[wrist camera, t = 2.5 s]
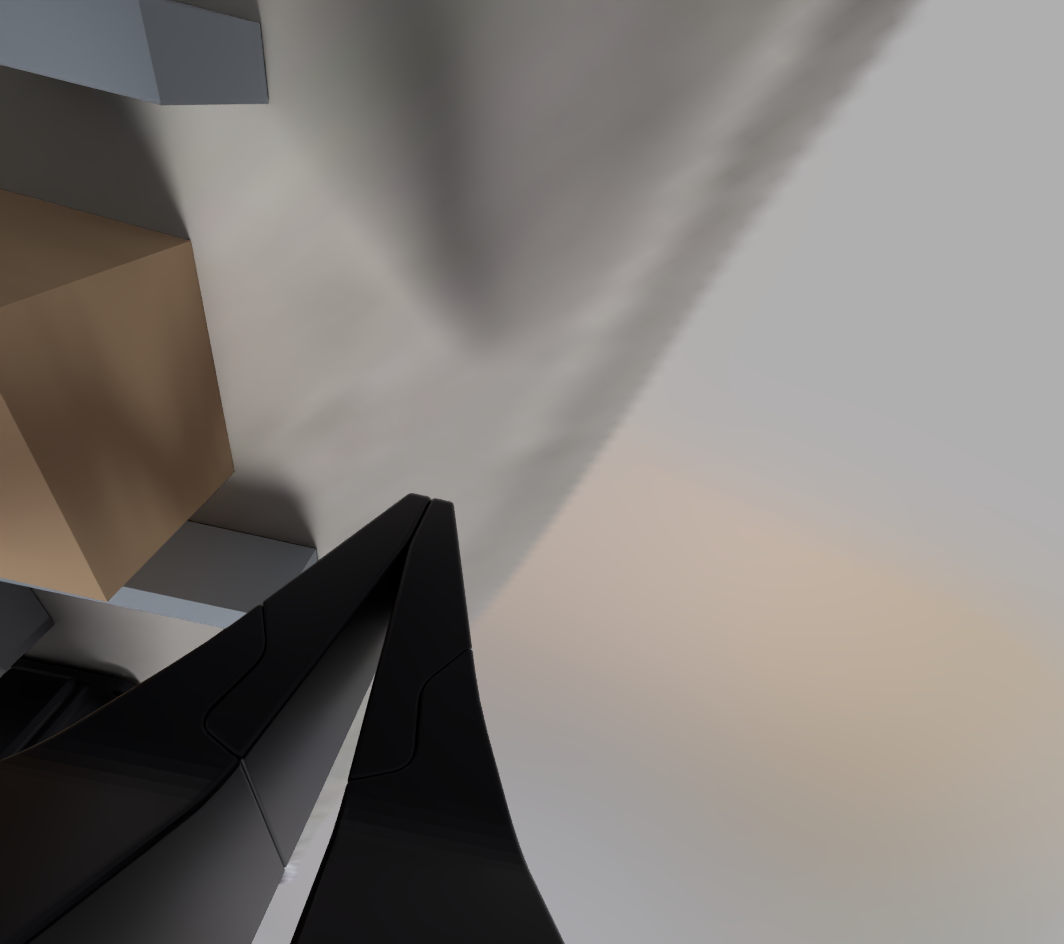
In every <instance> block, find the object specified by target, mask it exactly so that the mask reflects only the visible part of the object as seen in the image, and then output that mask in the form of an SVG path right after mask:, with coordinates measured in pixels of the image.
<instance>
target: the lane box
mask: <svg viewBox="0 0 1064 944" xmlns="http://www.w3.org/2000/svg"><path fill="white" fill-rule="evenodd" d="M0 65H3V66H7V67H11V68H15V69H19V70H23V71H27V72H31V73H35V74H39V75H43V76H47V77H51V78H55V79H59V80H63V81H67V82H71V83H75V84H79V85H83V86H87V87H91V88H95V89H99V90H103V91H107V92H111V93H115V94H119V95H123V96H127V97H131V98H135V99H139V100H143V101H147V102H151V103H155V104H159V105H206V104H268V95H267V86H266V77H265V67H264V58H263V49H262V39H261V30H260V23H257V22H253V21H249V20H245V19H241V18H238V17H234V16H230V15H226V14H222V13H218V12H215V11H211V10H207V9H203V8H199V7H195V6H191V5H188V4H184V3H180V2H176V1H172V0H0ZM316 562H317V552H316V549H314V548H309V547H304V546H300V545H295V544H291V543H286V542H282V541H277V540H272V539H268V538H263V537H259V536H254V535H250V534H245V533H241V532H236V531H231V530H227V529H222V528H218V527H213V526H209V525H204V524H199V523H195V522H190V521H186V522H185V523H184V524H183V525H182V526H181V527H180V528H179V529H178V530H177V531H176V532H175V533H174V534H173V535H172V536H171V537H170V538H169V539H168V540H167V541H166V543H165V544H164V545H163V546H162V547H161V548H160V549H159V550H158V551H157V552H156V553H155V554H154V555H153V556H152V557H151V558H150V559H149V560H148V561H147V562H146V563H145V564H144V565H143V566H142V567H141V568H140V569H139V570H138V571H137V572H136V573H135V574H134V575H133V576H132V577H131V578H130V579H129V580H128V581H127V582H126V583H125V585H124V586H123V587H122V588H121V589H120V590H119V591H118V592H117V593H116V594H115V595H114V596H113V597H112V598H111V599H110V600H109V601H108V602H105V601H101V600H97V599H92V598H88V597H84V596H79V595H75V594H70V593H66V592H62V591H57V590H53V589H49V588H44V587H40V586H35V585H31V584H27V583H22V582H18V581H14V580H9V579H5V578H0V670H4V671H7V670H8V669H9V668H10V667H11V666H12V665H13V664H14V663H15V662H16V661H17V660H18V659H19V658H20V657H21V656H22V655H23V654H24V653H25V652H26V651H27V650H28V649H29V648H30V647H31V646H32V645H34V644H35V643H36V642H37V641H38V640H39V639H40V638H41V637H42V636H43V635H44V634H45V633H46V632H47V631H48V630H49V629H50V628H51V627H52V626H53V625H54V622H53V621H52V619H51V618H50V617H49V615H48V614H47V612H46V611H45V609H44V608H43V606H42V605H41V604H40V602H39V601H38V599H37V598H36V596H35V595H34V594H33V592H32V591H31V589H30V588H29V587H31V588H36V589H40V590H45V591H50V592H55V593H59V594H64V595H69V596H74V597H78V598H83V599H88V600H93V601H97V602H102V603H107V604H111V605H116V606H121V607H126V608H130V609H135V610H140V611H145V612H149V613H154V614H159V615H164V616H168V617H173V618H178V619H182V620H187V621H192V622H197V623H201V624H206V625H211V626H216V627H220V628H227V627H228V626H230V625H231V624H233V623H234V622H235V621H237V620H238V619H240V618H241V617H242V616H244V615H245V614H246V613H248V612H249V611H251V610H252V609H253V608H255V607H256V606H257V605H262V606H263V601H264V600H266V599H267V598H268V597H270V596H271V595H272V594H274V593H275V592H277V591H278V590H279V589H281V588H282V587H283V586H285V585H286V584H287V583H289V582H290V581H291V580H293V579H294V578H295V577H297V576H298V575H300V574H301V573H302V572H304V571H305V570H306V569H308V568H309V567H310V566H312V565H313V564H314V563H316Z"/></svg>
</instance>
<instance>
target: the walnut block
mask: <svg viewBox="0 0 1064 944" xmlns="http://www.w3.org/2000/svg"><path fill="white" fill-rule="evenodd" d="M234 472H235V471H234V466H233V461H232V456H231V450H230V445H229V440H228V434H227V429H226V424H225V419H224V413H223V408H222V403H221V397H220V392H219V387H218V382H217V376H216V371H215V366H214V360H213V355H212V350H211V345H210V339H209V334H208V329H207V323H206V318H205V313H204V308H203V302H202V297H201V292H200V286H199V281H198V276H197V271H196V265H195V260H194V255H193V250H192V244H191V241H190V240H186V239H183V238H179V237H175V236H171V235H168V234H164V233H160V232H157V231H153V230H149V229H146V228H142V227H138V226H135V225H131V224H127V223H124V222H120V221H116V220H113V219H109V218H105V217H101V216H98V215H94V214H90V213H87V212H83V211H79V210H76V209H72V208H68V207H65V206H61V205H57V204H54V203H50V202H46V201H42V200H39V199H35V198H31V197H28V196H24V195H20V194H17V193H13V192H9V191H6V190H2V189H0V578H5V579H9V580H14V581H18V582H22V583H27V584H31V585H35V586H40V587H44V588H49V589H53V590H57V591H62V592H66V593H70V594H75V595H79V596H84V597H88V598H92V599H97V600H101V601H105V602H108V601H109V600H110V599H111V598H112V597H113V596H114V595H115V594H116V593H117V592H118V591H119V590H120V589H121V588H122V587H123V586H124V585H125V583H126V582H127V581H128V580H129V579H130V578H131V577H132V576H133V575H134V574H135V573H136V572H137V571H138V570H139V569H140V568H141V567H142V566H143V565H144V564H145V563H146V562H147V561H148V560H149V559H150V558H151V557H152V556H153V555H154V554H155V553H156V552H157V551H158V550H159V549H160V548H161V547H162V546H163V545H164V544H165V543H166V541H167V540H168V539H169V538H170V537H171V536H172V535H173V534H174V533H175V532H176V531H177V530H178V529H179V528H180V527H181V526H182V525H183V524H184V523H185V522H186V521H187V520H188V519H189V518H190V517H191V516H192V515H193V514H194V513H195V512H196V511H197V510H198V509H199V508H200V507H201V506H202V505H203V504H204V503H205V502H206V501H207V500H208V498H209V497H210V496H211V495H212V494H213V493H214V492H215V491H216V490H217V489H218V488H219V487H220V486H221V485H222V484H223V483H224V482H225V481H226V480H227V479H228V478H229V477H230V476H231V475H232V474H233V473H234Z"/></svg>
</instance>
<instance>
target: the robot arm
mask: <svg viewBox="0 0 1064 944" xmlns="http://www.w3.org/2000/svg"><path fill="white" fill-rule="evenodd" d="M471 648H472V644H471V637H470V629H469V621H468V613H467V605H466V597H465V589H464V582H463V574H462V566H461V558H460V550H459V542H458V534H457V527H456V519H455V511H454V505H453V503H452V502H450V501H445V500H441V499H436V498H434V499H432V500H431V499H430V498H429V497H428V496H423V495H419V494H414V493H410V494H408V495H406V496H405V497H404V498H402V499H401V500H400V501H398V502H397V503H396V504H394V505H393V506H392V507H390V508H389V509H387V510H386V511H385V512H383V513H382V514H381V515H379V516H378V517H377V518H375V519H374V520H373V521H371V522H370V523H369V524H367V525H366V526H364V527H363V528H362V529H360V530H359V531H358V532H356V533H355V534H354V535H352V536H351V537H350V538H348V539H347V540H346V541H344V542H343V543H341V544H340V545H339V546H337V547H336V548H335V549H333V550H332V551H331V552H329V553H328V554H327V555H325V556H324V557H323V558H321V559H320V560H318V561H317V562H316V563H314V564H313V565H312V566H310V567H309V568H308V569H306V570H305V571H304V572H302V573H301V574H300V575H298V576H297V577H295V578H294V579H293V580H291V581H290V582H289V583H287V584H286V585H285V586H283V587H282V588H281V589H279V590H278V591H277V592H275V593H274V594H272V595H271V596H270V597H268V598H267V599H266V600H264V601H263V606H262V605H257V606H256V607H255V608H253V609H252V610H251V611H249V612H248V613H246V614H245V615H244V616H242V617H241V618H240V619H238V620H237V621H235V622H234V623H233V624H231V625H230V626H228V627H227V628H225V629H224V630H223V631H221V632H220V633H218V634H217V635H216V636H214V637H213V638H211V639H210V640H208V641H207V642H205V643H204V644H202V645H201V646H199V647H198V648H196V649H194V650H193V651H191V652H190V653H188V654H187V655H185V656H184V657H182V658H180V659H179V660H177V661H176V662H174V663H173V664H171V665H169V666H168V667H166V668H165V669H163V670H161V671H160V672H158V673H156V674H155V675H153V676H152V677H150V678H148V679H147V680H145V681H143V682H142V683H140V684H138V685H137V686H134V685H133V684H132V683H130V682H127V681H125V680H121V679H116V678H112V677H107V676H102V675H97V674H92V673H87V672H82V671H78V670H73V669H68V668H63V667H58V666H53V665H48V664H43V663H39V662H34V661H29V660H24V659H18V660H17V661H16V662H15V663H14V664H13V665H12V666H11V667H10V668H9V669H8V670H7V671H4V670H0V944H251V943H252V941H253V939H254V937H255V934H256V932H257V930H258V928H259V926H260V924H261V921H262V919H263V917H264V915H265V913H266V910H267V908H268V906H269V904H270V902H271V900H272V897H273V895H274V893H275V891H276V889H277V886H278V884H279V882H280V880H281V878H282V876H283V873H284V871H285V869H284V867H286V866H287V864H288V862H289V860H290V858H291V856H292V853H293V851H294V849H295V847H296V845H297V842H298V840H299V838H300V836H301V834H302V832H303V829H304V827H305V825H306V823H307V821H308V818H309V816H310V814H311V812H312V810H313V808H314V805H315V803H316V801H317V799H318V797H319V794H320V792H321V790H322V788H323V786H324V783H325V781H326V779H327V777H328V775H329V773H330V770H331V768H332V766H333V764H334V762H335V759H336V757H337V755H338V753H339V751H340V749H341V746H342V744H343V742H344V740H345V738H346V735H347V733H348V731H349V729H350V727H351V725H352V722H353V720H354V718H355V716H356V714H357V711H358V709H359V707H360V705H361V703H362V701H363V698H364V696H365V694H366V692H367V690H368V687H369V685H370V683H371V681H372V679H373V676H374V674H375V677H374V681H373V685H372V689H371V692H370V696H369V700H368V704H367V708H366V712H365V715H364V719H363V723H362V727H361V731H360V735H359V738H358V742H357V746H356V750H355V754H354V758H353V761H352V765H351V769H350V773H349V777H348V784H347V785H346V788H345V792H344V796H343V800H342V803H341V807H340V810H339V813H338V817H337V820H336V823H335V826H334V829H333V833H332V836H331V838H330V841H329V844H328V846H327V849H326V852H325V854H324V857H323V859H322V862H321V865H320V867H319V870H318V873H317V875H316V878H315V881H314V883H313V885H312V888H311V891H310V893H309V896H308V899H307V901H306V904H305V906H304V909H303V912H302V914H301V917H300V919H299V922H298V925H297V927H296V930H295V933H294V935H293V938H292V940H291V943H290V944H565V943H564V941H563V939H562V937H561V935H560V933H559V931H558V929H557V927H556V925H555V923H554V921H553V919H552V917H551V915H550V913H549V911H548V908H547V906H546V904H545V902H544V900H543V898H542V896H541V894H540V892H539V890H538V888H537V885H536V883H535V881H534V879H533V877H532V875H531V873H530V871H529V869H528V866H527V864H526V861H525V859H524V856H523V853H522V851H521V848H520V845H519V842H518V839H517V836H516V833H515V830H514V827H513V824H512V820H511V817H510V813H509V810H508V806H507V803H506V799H505V795H504V792H503V788H502V784H501V780H500V777H499V773H498V769H497V766H496V762H495V758H494V755H493V751H492V747H491V744H490V740H489V736H488V733H487V729H486V725H485V720H484V715H483V711H482V707H481V703H480V698H479V692H478V686H477V679H476V673H475V666H474V659H473V652H472V650H471ZM375 672H376V673H375Z"/></svg>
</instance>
